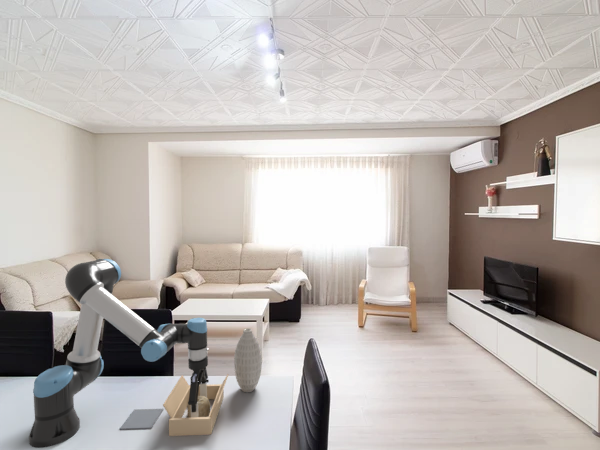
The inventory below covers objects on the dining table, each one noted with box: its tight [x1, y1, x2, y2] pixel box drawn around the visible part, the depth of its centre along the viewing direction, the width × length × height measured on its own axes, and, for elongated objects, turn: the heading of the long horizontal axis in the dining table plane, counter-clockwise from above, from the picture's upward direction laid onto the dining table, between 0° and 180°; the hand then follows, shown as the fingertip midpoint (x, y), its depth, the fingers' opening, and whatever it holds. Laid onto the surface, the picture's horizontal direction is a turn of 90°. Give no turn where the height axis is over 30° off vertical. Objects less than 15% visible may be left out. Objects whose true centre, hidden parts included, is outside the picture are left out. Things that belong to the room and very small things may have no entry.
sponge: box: [186, 396, 211, 418], centre depth 131 cm, size 9×10×10 cm
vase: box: [233, 328, 263, 393], centre depth 150 cm, size 13×13×28 cm
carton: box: [162, 373, 230, 437], centre depth 131 cm, size 20×24×11 cm
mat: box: [119, 408, 164, 431], centre depth 129 cm, size 12×12×1 cm
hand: (199, 408), depth 131 cm, fingers open, 13 cm apart
